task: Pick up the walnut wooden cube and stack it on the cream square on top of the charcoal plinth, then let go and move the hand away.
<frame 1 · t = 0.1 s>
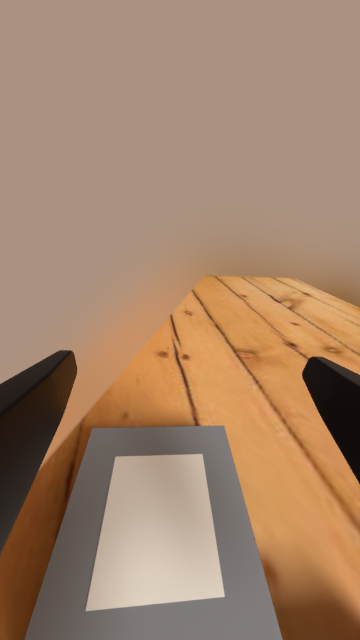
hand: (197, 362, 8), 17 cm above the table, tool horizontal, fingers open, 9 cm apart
plinth: (157, 534, 15), on the table
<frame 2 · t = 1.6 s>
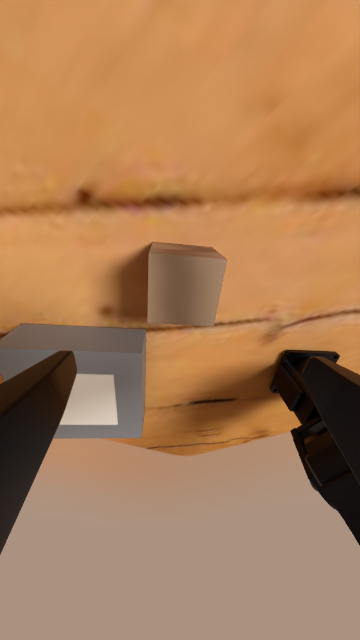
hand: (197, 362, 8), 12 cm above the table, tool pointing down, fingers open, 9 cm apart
walnut cube: (180, 273, 18), on the table
plinth: (92, 371, 23), on the table
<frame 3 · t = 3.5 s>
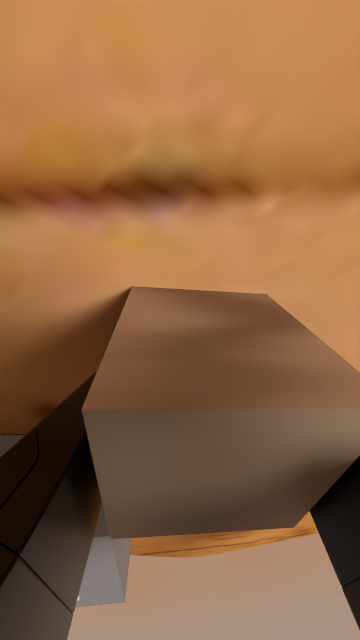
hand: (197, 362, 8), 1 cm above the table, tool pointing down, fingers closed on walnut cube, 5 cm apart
walnut cube: (193, 346, 9), on the table, touching gripper
plinth: (38, 489, 13), on the table
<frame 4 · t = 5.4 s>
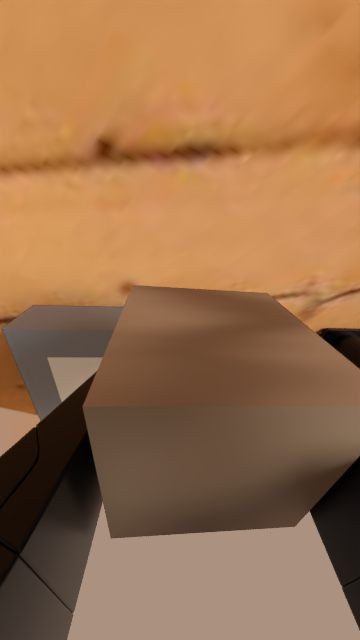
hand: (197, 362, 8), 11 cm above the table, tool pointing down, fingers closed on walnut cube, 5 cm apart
walnut cube: (194, 345, 9), point 10 cm above the table, touching gripper
plinth: (111, 358, 21), on the table
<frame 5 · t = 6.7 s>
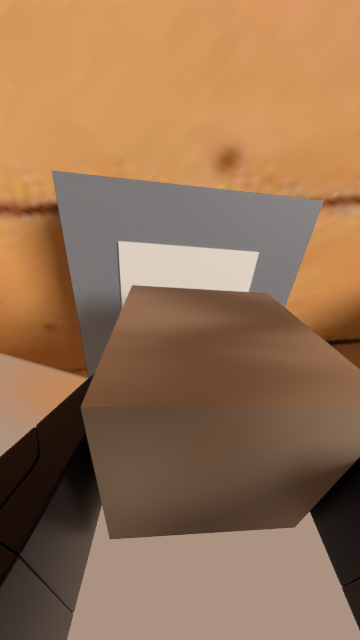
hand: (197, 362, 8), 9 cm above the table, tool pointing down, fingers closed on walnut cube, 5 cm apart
walnut cube: (193, 345, 9), point 8 cm above the table, touching gripper
plinth: (179, 286, 15), on the table
when the fingers open (6 cm above the table, at t = 7.6 s): walnut cube drops 1 cm, resting on plinth.
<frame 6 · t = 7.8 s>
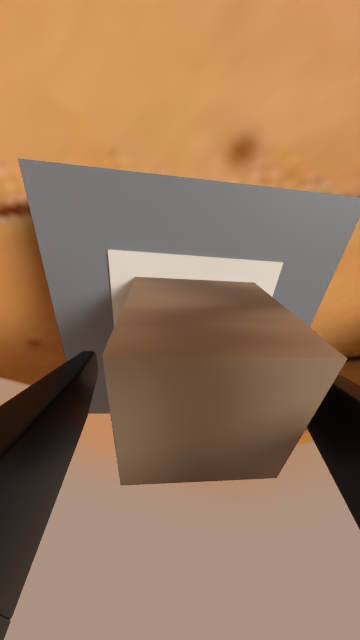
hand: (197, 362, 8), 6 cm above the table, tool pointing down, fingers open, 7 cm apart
walnut cube: (190, 330, 10), point 4 cm above the table, touching plinth
plinth: (182, 298, 13), on the table
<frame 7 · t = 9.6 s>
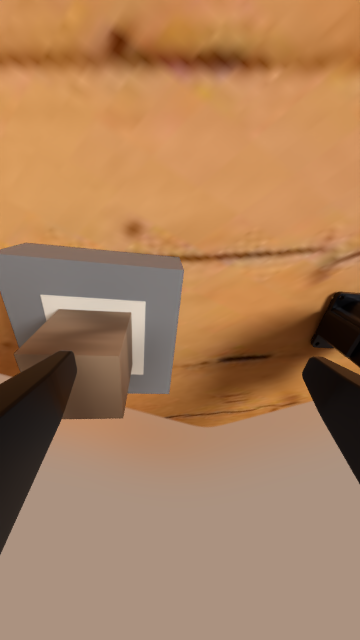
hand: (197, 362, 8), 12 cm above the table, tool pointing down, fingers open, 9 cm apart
walnut cube: (99, 339, 16), point 4 cm above the table, touching plinth
plinth: (110, 315, 19), on the table
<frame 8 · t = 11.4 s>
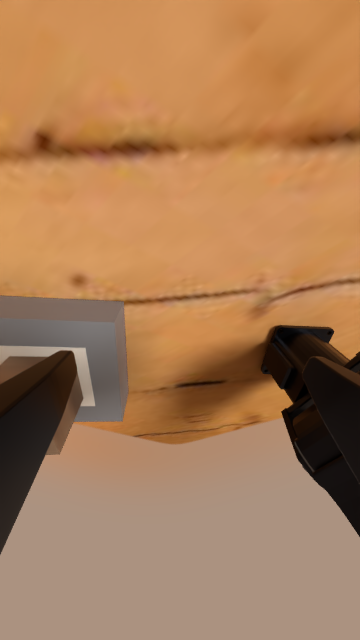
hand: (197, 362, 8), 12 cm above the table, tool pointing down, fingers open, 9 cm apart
walnut cube: (49, 379, 18), point 4 cm above the table, touching plinth
plinth: (68, 350, 21), on the table
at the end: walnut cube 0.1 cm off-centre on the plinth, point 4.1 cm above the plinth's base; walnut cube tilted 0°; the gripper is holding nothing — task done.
